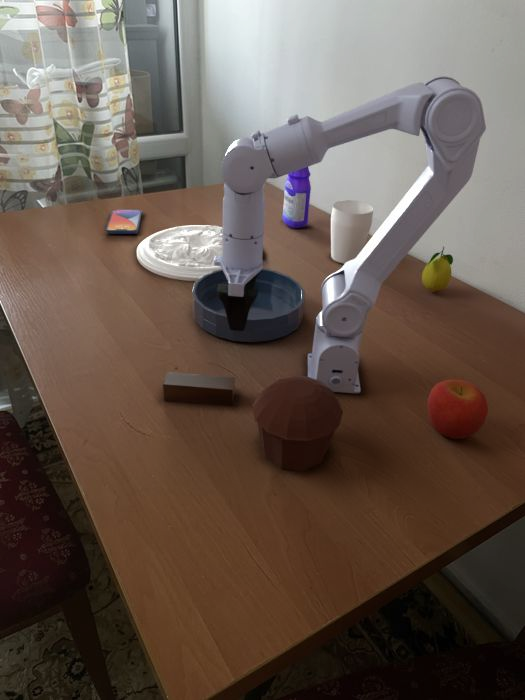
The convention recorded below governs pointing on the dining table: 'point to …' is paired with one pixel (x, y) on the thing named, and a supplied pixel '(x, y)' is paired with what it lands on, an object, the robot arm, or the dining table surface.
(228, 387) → the block
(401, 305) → the dining table surface
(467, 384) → the apple
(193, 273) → the ceiling medallion
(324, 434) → the muffin
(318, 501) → the dining table surface
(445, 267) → the pear
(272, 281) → the bowl
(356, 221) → the cup
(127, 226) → the smartphone
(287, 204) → the bottle
